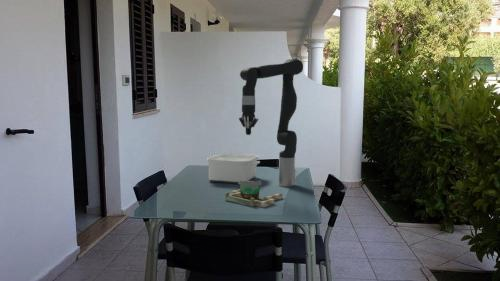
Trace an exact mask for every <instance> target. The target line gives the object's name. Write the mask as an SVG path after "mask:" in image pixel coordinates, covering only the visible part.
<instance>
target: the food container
mask: <svg viewBox="0 0 500 281" xmlns="http://www.w3.org/2000/svg"><path fill="white" fill-rule="evenodd" d="M237 185H239V189H240V192H241V197H240V198H243V199H247V200H251V198H255V200H259V198H260V197H259V196H260V190H261V185H263V184H262V181H261V179H259V180H257V181H256V180H250V181H240V180H239V183H238V184H237Z"/></svg>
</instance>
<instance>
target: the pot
mask: <svg viewBox="0 0 500 281" xmlns="http://www.w3.org/2000/svg"><path fill="white" fill-rule="evenodd" d="M258 159H259V155H258V154H250V153H249V154H248V153H232V152H229V153H227V152H226V153H225V152H223V153H216V154H214V155H211V156H208V157H207V158H206V163H208V179H209V181H210V182H211V183H221V182H222V183H224V184H234V185H235V184H236V185H239V184H238V183H239V180H240V181H252V180H253V179H255V178H256V176H257V172H258V171H257V165H259V164H260V163H261V161H260V160H258ZM222 183H221V184H222Z"/></svg>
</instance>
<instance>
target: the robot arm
mask: <svg viewBox="0 0 500 281" xmlns="http://www.w3.org/2000/svg"><path fill="white" fill-rule="evenodd" d="M303 69H304V64H303V62H302V60H300V59H297V58H291V59H286V60H285V61H284V62H283V63H277V64H275V63H274V64H273V63H272V64H265V65H259V66H255V67H254V66H252V67H245V68H243V69H241V70H240V73H239V76H240V78H241V79H242V80H243V81H245V84H244V85H243V86H242V93H241V113H242V114H241V117H238V120H239V122H240V124H241V125H242V127H243V128H245V135H247V136H251V134H252V128H255V126H256V124H257V122H258V121H259V118H257V117H256V114H255V112H256V86H257V82H258V79H267V78H272V77H277V76H281V75H282V90H281V92H282V93H281V99H280V100H281V101H280V113H279V121H278V122H279V123H278V127H277V132H276V142H277V143H278V144H279V145H280V146H284V150H282V151H280V152H278V153H279V154H278V155H279V158H278V163H279V164H278V186H280V187H284V188H285V187H287V188H288V187H289V188H290V187H294V186H295V185H296V169H295V167H296V166H295V163H296V162H295V160H296V159H295V158H296V156H295V155H296V152H297V143H298V138H297V133H296V132H295V131H293V130H289V123H290V121H291V119H292V117H293V115H294V113H296V110H297V105H298V104H297V103H298V101H297V100H298V95H297V93H296V89H295V86H294V76H297V75H299V74H301V73H302V72H303Z"/></svg>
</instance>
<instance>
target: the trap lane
mask: <svg viewBox="0 0 500 281" xmlns="http://www.w3.org/2000/svg"><path fill="white" fill-rule="evenodd" d="M224 194H225V199H224V200H225V201H227V202H232V203H235V204H240V205H243V206H244V205H245V206H248V207H253V208H254V207H261V208H265V207H268V206H272V205H275V201H277V200H280V199H283V193H282V192H279V193H276V194H272V195H268V196H265V197H263V198H262V200H263V201H262V200H259V199H257V200H255V198H251V200H247V199H243V198H241V192H240V188H239V189H235V190H231V194H230V192H229V191H227V192H225V193H224Z"/></svg>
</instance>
